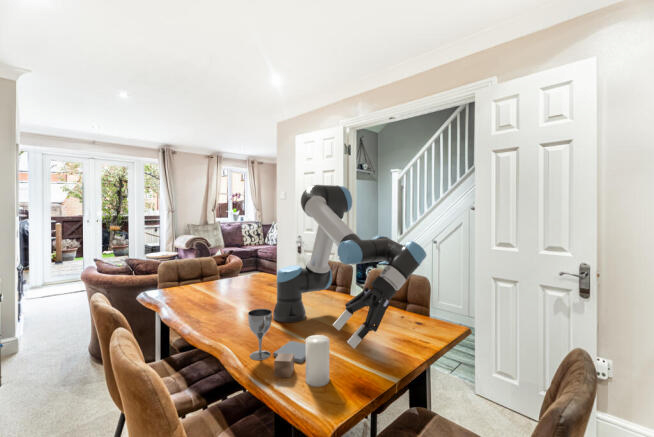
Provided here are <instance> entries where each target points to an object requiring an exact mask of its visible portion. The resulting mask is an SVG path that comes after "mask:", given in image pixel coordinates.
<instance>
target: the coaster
mask: <svg viewBox="0 0 654 437" xmlns="http://www.w3.org/2000/svg"><path fill="white" fill-rule="evenodd" d="M278 353H287V354H294V363H299V364H302V363H303V362H304V361H306V343H304V342H299V341H294V340H289V341H288V342H286V343H285V344H284V345H283V346H281V347H280V348H278V349H277V350H276V351H273V357H275V358H276V357H277V355H278Z"/></svg>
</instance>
